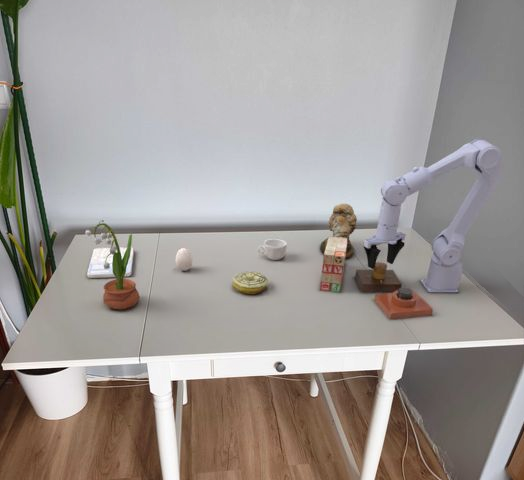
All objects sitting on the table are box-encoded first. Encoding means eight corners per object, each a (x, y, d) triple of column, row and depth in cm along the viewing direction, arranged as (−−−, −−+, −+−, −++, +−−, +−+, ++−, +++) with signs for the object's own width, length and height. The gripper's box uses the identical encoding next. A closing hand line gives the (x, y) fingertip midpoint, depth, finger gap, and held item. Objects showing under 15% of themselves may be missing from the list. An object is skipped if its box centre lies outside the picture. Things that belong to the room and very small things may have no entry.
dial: (372, 272, 158) (374, 260, 155) (385, 274, 157) (387, 262, 154) (371, 278, 154) (373, 265, 152) (384, 280, 154) (386, 267, 151)
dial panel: (391, 278, 162) (392, 269, 160) (400, 292, 154) (401, 283, 152) (354, 277, 161) (356, 269, 159) (361, 292, 153) (363, 283, 151)
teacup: (282, 252, 176) (283, 237, 173) (288, 261, 170) (289, 246, 167) (255, 254, 174) (255, 239, 171) (259, 263, 168) (260, 248, 165)
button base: (413, 296, 152) (416, 285, 149) (431, 315, 143) (434, 303, 141) (373, 300, 149) (376, 288, 147) (389, 319, 140) (392, 307, 138)
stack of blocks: (326, 261, 171) (330, 227, 164) (344, 263, 170) (349, 229, 163) (319, 290, 153) (323, 253, 146) (340, 293, 152) (345, 255, 145)
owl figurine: (317, 239, 187) (322, 194, 177) (348, 240, 187) (354, 195, 178) (323, 260, 172) (328, 212, 162) (357, 261, 172) (364, 213, 163)
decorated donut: (274, 289, 153) (275, 278, 151) (248, 299, 147) (248, 288, 145) (252, 276, 159) (253, 266, 157) (226, 286, 153) (226, 275, 151)
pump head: (407, 293, 146) (408, 286, 145) (413, 299, 143) (415, 293, 142) (395, 294, 145) (396, 288, 144) (401, 300, 142) (402, 294, 141)
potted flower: (101, 316, 136) (86, 230, 122) (93, 300, 144) (79, 216, 130) (144, 307, 141) (134, 223, 127) (134, 292, 148) (124, 210, 135)
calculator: (134, 251, 173) (133, 245, 172) (131, 277, 156) (130, 271, 155) (94, 252, 171) (93, 247, 170) (87, 279, 154) (86, 273, 153)
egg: (184, 275, 159) (183, 253, 154) (172, 270, 161) (171, 248, 157) (196, 269, 162) (195, 247, 158) (184, 265, 165) (183, 243, 161)
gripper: (378, 231, 140) (370, 275, 147) (415, 223, 146) (407, 265, 154) (362, 223, 145) (355, 265, 152) (399, 215, 151) (391, 257, 159)
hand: (380, 265), depth 153 cm, fingers open, 7 cm apart
